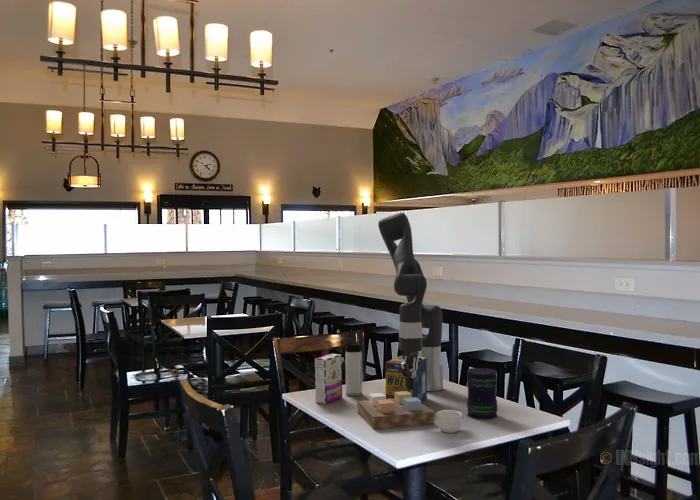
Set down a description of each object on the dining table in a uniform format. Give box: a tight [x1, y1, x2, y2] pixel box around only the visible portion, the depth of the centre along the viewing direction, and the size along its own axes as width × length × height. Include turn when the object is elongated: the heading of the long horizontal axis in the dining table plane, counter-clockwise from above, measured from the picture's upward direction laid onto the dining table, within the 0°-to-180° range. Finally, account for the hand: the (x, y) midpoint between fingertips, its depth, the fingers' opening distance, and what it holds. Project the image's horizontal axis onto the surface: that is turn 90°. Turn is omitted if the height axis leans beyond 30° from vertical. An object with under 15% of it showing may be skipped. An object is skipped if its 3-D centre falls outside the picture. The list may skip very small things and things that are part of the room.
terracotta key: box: [376, 399, 395, 414], centre depth 193 cm, size 5×5×4 cm
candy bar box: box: [314, 353, 343, 405], centre depth 223 cm, size 11×5×16 cm, turn 148°
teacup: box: [435, 409, 466, 434], centre depth 185 cm, size 10×8×5 cm
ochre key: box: [394, 391, 412, 404], centre depth 204 cm, size 5×5×4 cm
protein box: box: [385, 354, 428, 403], centre depth 220 cm, size 10×15×16 cm
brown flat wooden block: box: [356, 397, 435, 431], centre depth 199 cm, size 20×20×4 cm
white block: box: [368, 392, 386, 406], centre depth 202 cm, size 5×5×4 cm
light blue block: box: [403, 397, 422, 411], centre depth 195 cm, size 5×5×4 cm
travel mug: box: [344, 342, 363, 397], centre depth 231 cm, size 6×7×20 cm
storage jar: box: [466, 367, 498, 421], centre depth 201 cm, size 10×10×15 cm
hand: (410, 389), depth 195 cm, fingers closed
